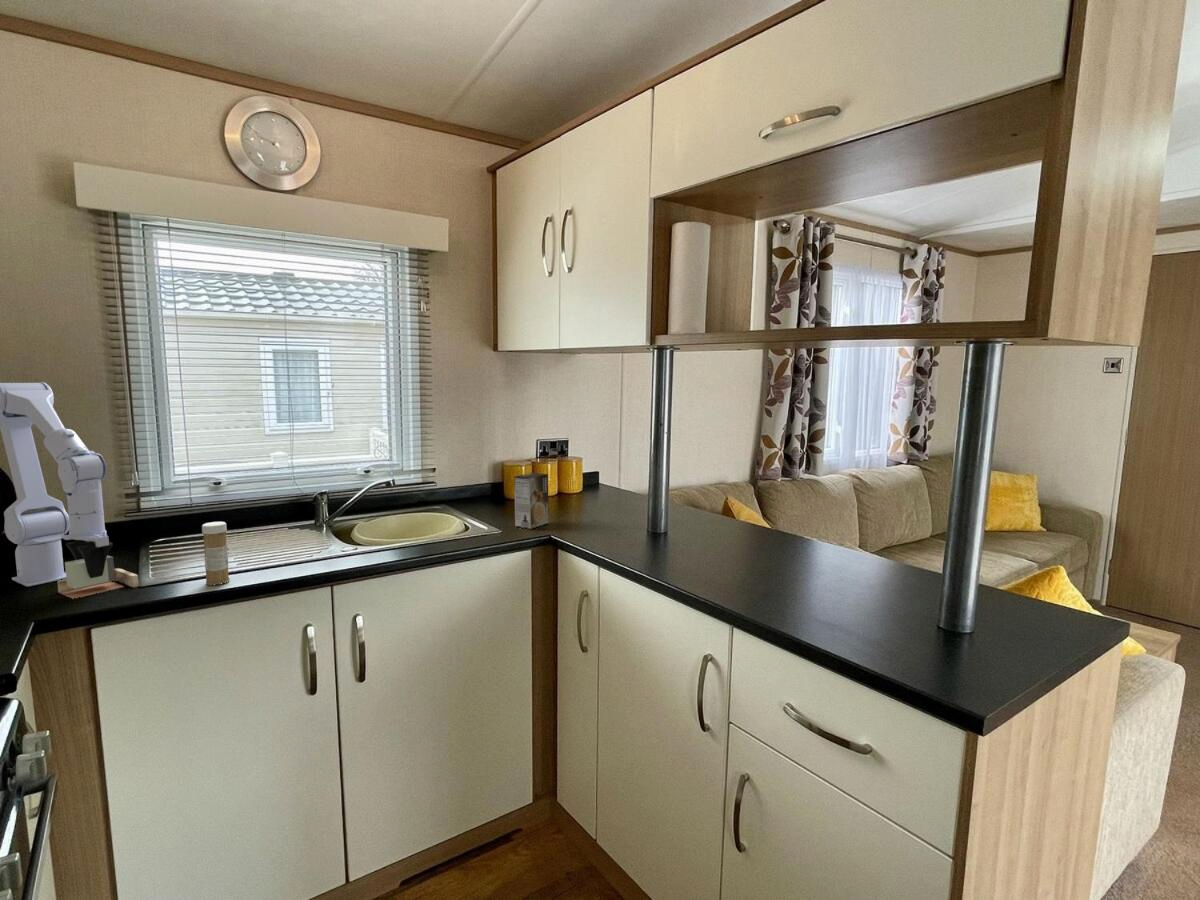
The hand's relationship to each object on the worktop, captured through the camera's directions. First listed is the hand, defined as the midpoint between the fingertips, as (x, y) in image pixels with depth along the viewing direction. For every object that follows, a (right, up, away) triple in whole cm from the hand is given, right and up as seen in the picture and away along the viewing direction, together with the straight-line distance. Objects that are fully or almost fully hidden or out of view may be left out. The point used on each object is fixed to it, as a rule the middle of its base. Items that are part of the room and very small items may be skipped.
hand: (91, 574), depth 134 cm
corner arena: (+1, -3, +1) cm, 4 cm away
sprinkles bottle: (+23, -3, +6) cm, 24 cm away
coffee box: (+87, +3, +61) cm, 106 cm away
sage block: (0, -2, 0) cm, 2 cm away
